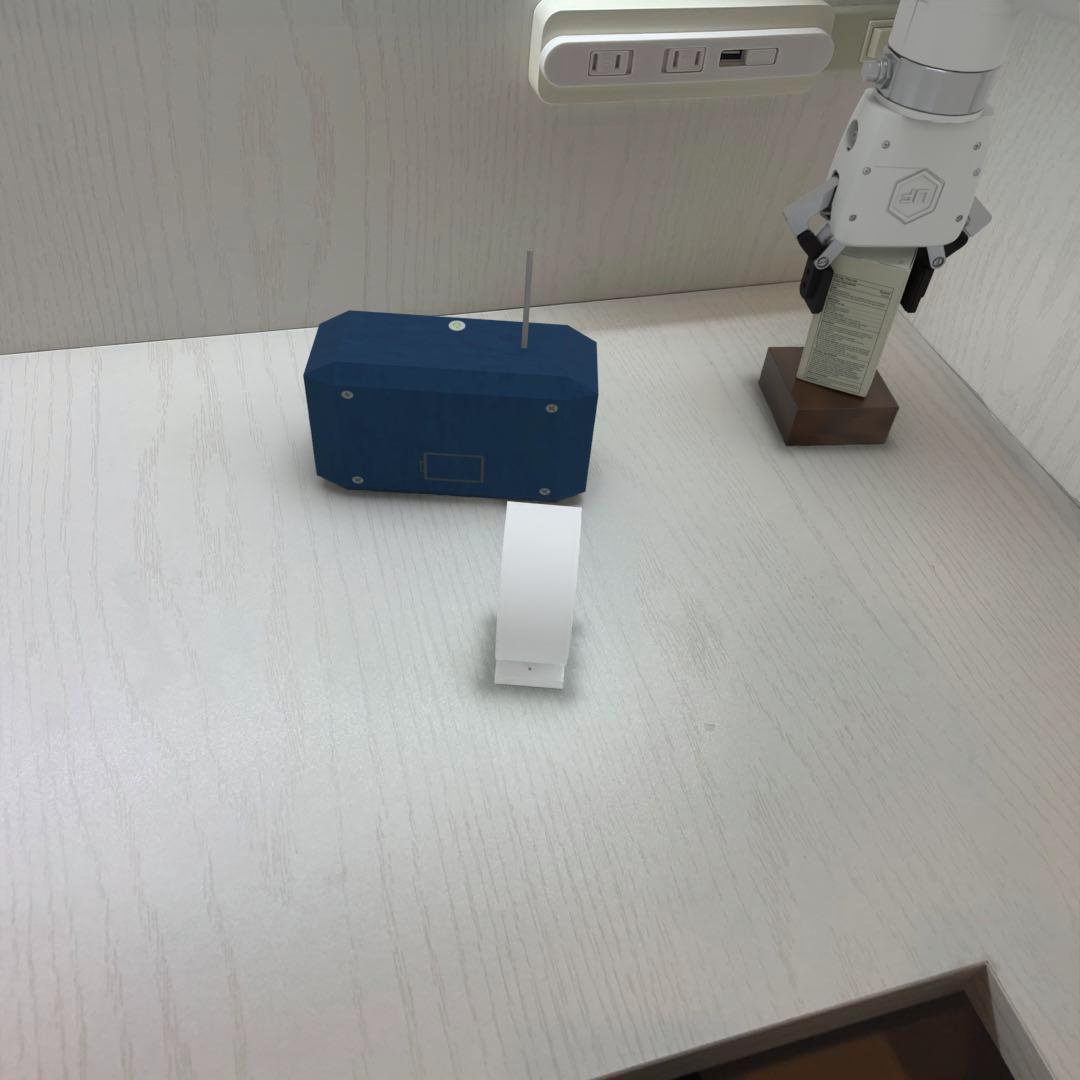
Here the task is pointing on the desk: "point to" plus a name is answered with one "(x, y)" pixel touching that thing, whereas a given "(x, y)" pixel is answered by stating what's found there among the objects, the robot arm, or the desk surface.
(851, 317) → the cosmetic box
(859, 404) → the walnut block
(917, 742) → the desk surface
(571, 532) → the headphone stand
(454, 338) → the radio
